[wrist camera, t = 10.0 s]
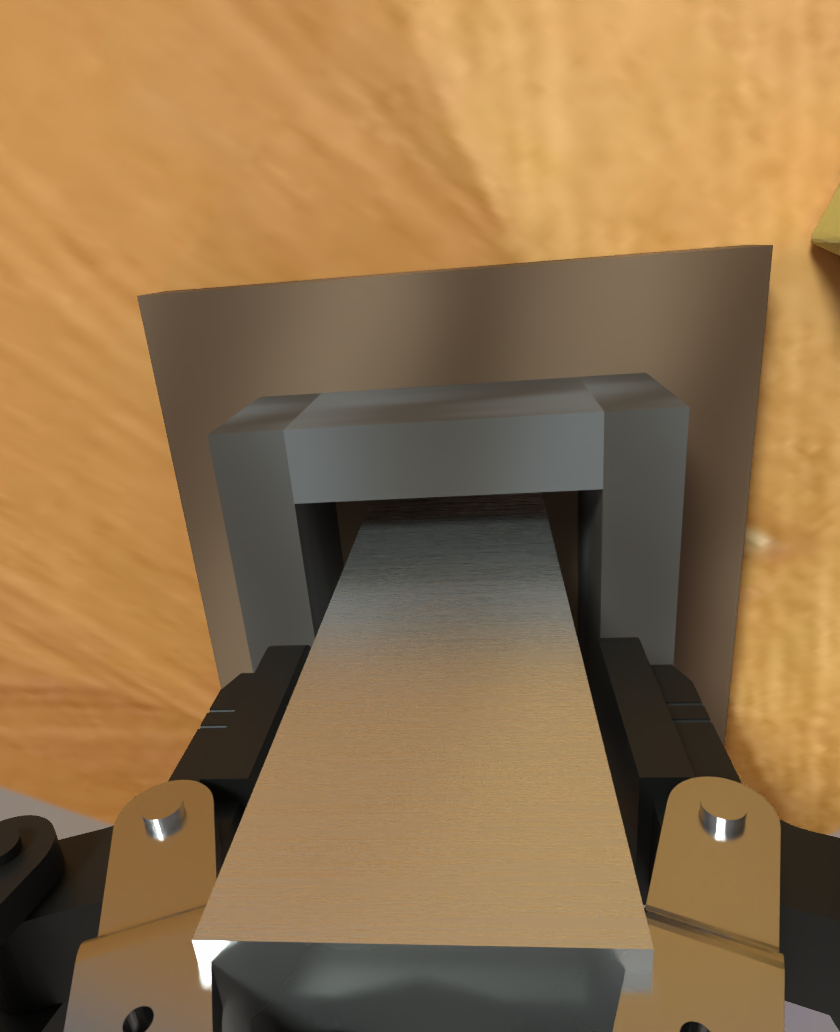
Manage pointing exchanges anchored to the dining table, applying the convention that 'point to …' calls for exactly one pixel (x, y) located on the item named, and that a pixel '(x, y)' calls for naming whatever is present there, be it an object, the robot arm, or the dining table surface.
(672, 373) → the square peg hole frame
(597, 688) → the robot arm
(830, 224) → the candy box
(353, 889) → the square grey peg
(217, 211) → the dining table surface
